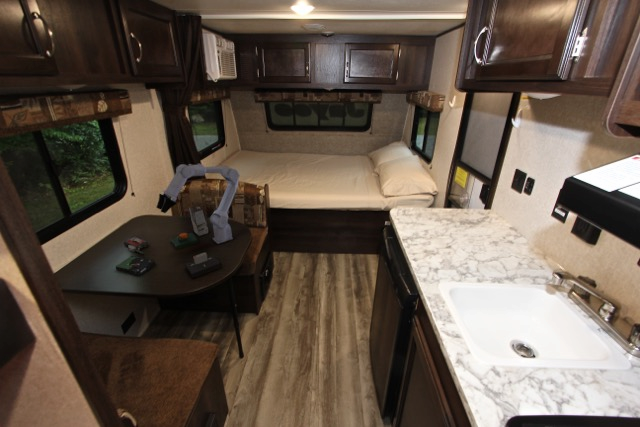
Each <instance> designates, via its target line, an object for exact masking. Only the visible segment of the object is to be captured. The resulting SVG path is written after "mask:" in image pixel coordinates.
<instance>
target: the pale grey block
mask: <svg viewBox="0 0 640 427" xmlns="http://www.w3.org/2000/svg"><path fill="white" fill-rule="evenodd" d="M207 256H208V255H207V252H202V253H199V254H196V255H193V261H194V262H195V264H199V263H202V262H204V261H207V260H208V259H207Z"/></svg>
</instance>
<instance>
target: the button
mask: <svg viewBox="0 0 640 427" xmlns="http://www.w3.org/2000/svg"><path fill="white" fill-rule="evenodd" d="M187 234H188V233H187V232H182V233H180V234H178V236H180V238H181V239H184V238H186V237H187Z"/></svg>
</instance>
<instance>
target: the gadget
mask: <svg viewBox="0 0 640 427" xmlns="http://www.w3.org/2000/svg"><path fill="white" fill-rule="evenodd" d="M207 259H208V260H207V261H204V262H202V263H199V264H195V262H194V260H193V261H190V262H188V263H185V264H184V266H185V270H186V271H187V272H188V274H189V275H190V277H191V278H192V279H196V278H198V277H201V276H203V275H206V274H209V273H211V272H214V271H216V270H219V269H221V268H222V265H221V262H220V261H219V260H218V259H217V257H215V256H214V254H210V255H207Z"/></svg>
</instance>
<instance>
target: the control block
mask: <svg viewBox="0 0 640 427" xmlns="http://www.w3.org/2000/svg"><path fill="white" fill-rule="evenodd" d="M170 242H171V244H172V246H174V248H175V249H176V250H179V249H182V248H186V247H189V246H191V245H192V246H193V245H195V244H198V243H199V239H198V238H197V237H196V236H195V235H194V234H193V232H190V233H187V237H186V238H184V239H181V238H180V236H179V235H178V236H177V237H174V238H171V239H170Z"/></svg>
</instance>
